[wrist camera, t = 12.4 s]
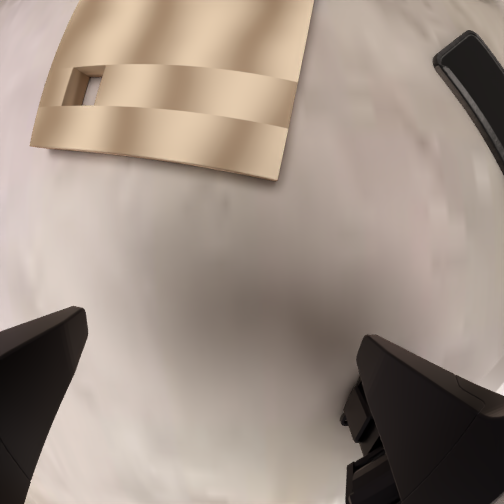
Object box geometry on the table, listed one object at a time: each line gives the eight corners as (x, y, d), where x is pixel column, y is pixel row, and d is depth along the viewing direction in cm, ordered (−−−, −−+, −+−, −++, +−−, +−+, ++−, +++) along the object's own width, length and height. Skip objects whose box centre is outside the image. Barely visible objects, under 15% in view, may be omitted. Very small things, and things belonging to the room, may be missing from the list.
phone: (524, 210, 17) (432, 57, 16) (516, 209, 19) (425, 62, 17) (553, 161, 16) (472, 26, 14) (546, 161, 17) (466, 30, 16)
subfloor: (320, -38, 15) (324, -55, 12) (275, 181, 19) (277, 179, 16) (122, -42, 15) (113, -55, 12) (49, 148, 19) (29, 146, 16)
